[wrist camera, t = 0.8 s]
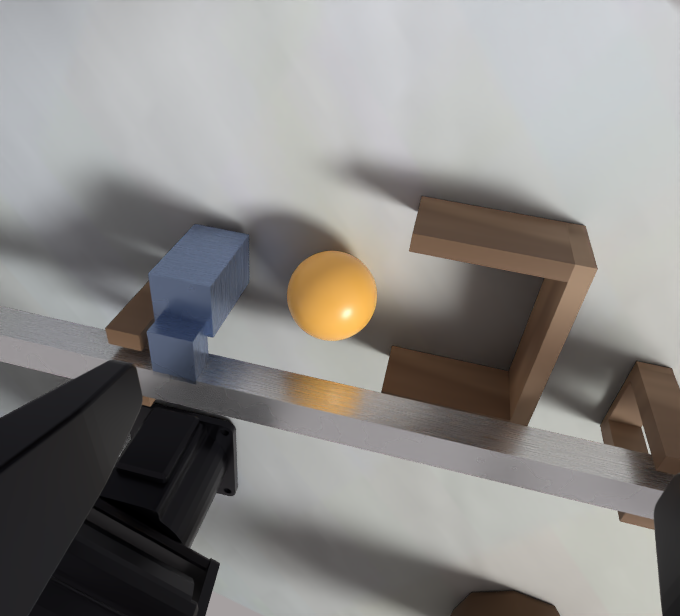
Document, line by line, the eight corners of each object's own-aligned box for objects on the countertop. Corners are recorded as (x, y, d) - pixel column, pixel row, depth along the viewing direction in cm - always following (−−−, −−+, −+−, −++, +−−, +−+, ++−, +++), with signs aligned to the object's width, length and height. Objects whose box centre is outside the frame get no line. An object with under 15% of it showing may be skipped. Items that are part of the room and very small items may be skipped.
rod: (727, 453, 24) (826, 685, 17) (58, 303, 28) (-92, 440, 21) (814, 347, 20) (988, 587, 13) (28, 190, 24) (-168, 310, 17)
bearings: (631, 432, 25) (657, 530, 21) (173, 329, 28) (120, 399, 24) (671, 368, 23) (709, 466, 19) (165, 262, 25) (105, 328, 21)
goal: (520, 385, 25) (522, 436, 23) (389, 356, 26) (379, 402, 23) (585, 225, 20) (597, 268, 18) (421, 196, 21) (412, 233, 18)
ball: (377, 314, 24) (362, 367, 22) (299, 297, 25) (274, 348, 22) (389, 244, 22) (374, 293, 19) (303, 227, 23) (276, 273, 20)
